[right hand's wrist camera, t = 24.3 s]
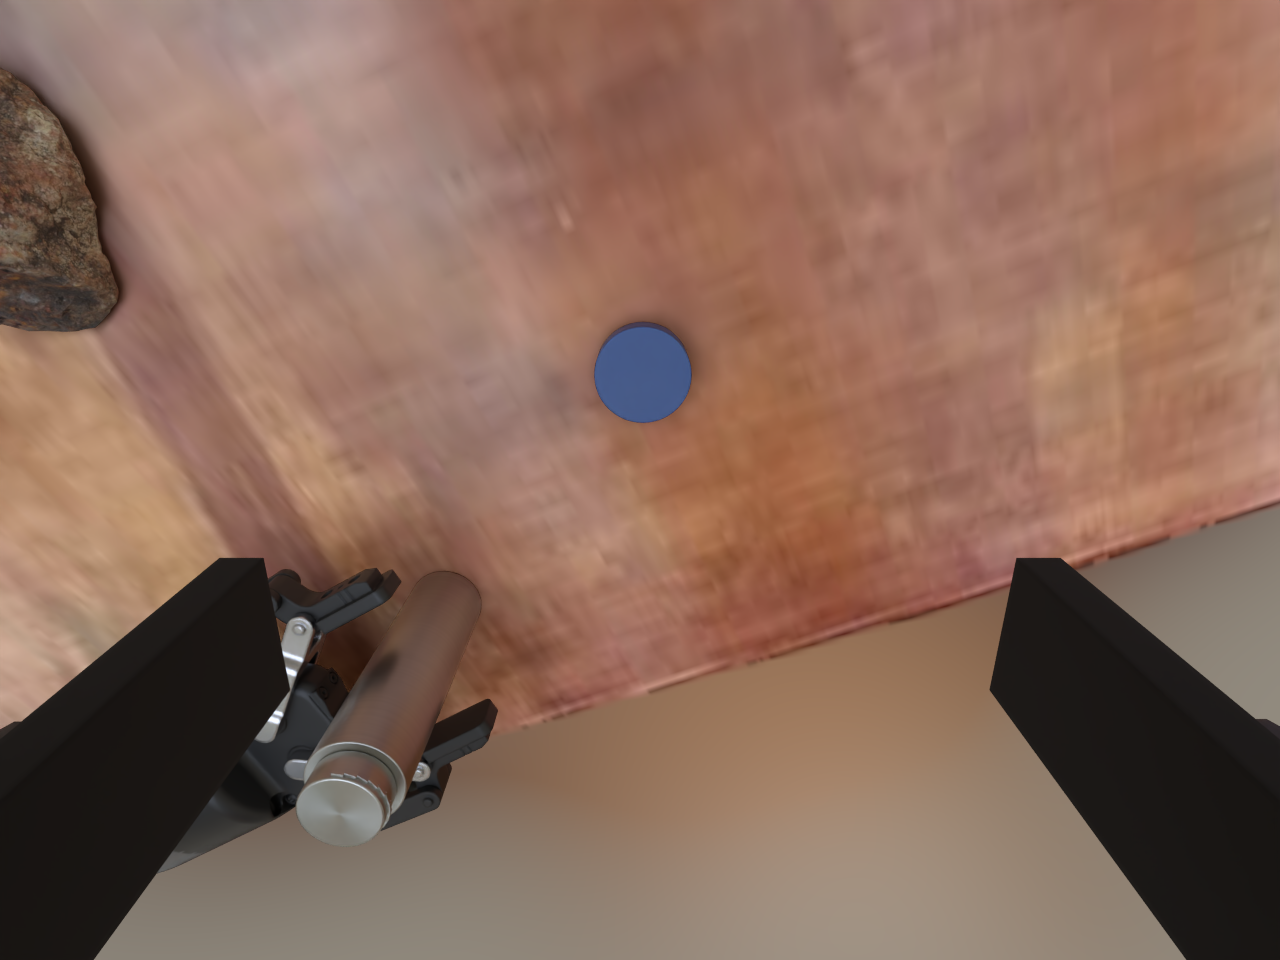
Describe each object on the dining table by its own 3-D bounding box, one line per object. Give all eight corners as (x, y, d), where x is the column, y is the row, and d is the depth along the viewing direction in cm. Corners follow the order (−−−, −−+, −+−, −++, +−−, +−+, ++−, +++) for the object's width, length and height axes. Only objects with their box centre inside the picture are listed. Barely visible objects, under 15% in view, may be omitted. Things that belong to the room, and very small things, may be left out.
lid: (651, 302, 35) (651, 306, 34) (707, 376, 37) (711, 384, 35) (577, 360, 36) (574, 367, 35) (635, 431, 38) (634, 441, 36)
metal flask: (482, 634, 42) (396, 857, 27) (413, 630, 42) (290, 852, 27) (480, 573, 41) (390, 773, 26) (409, 569, 41) (279, 768, 26)
